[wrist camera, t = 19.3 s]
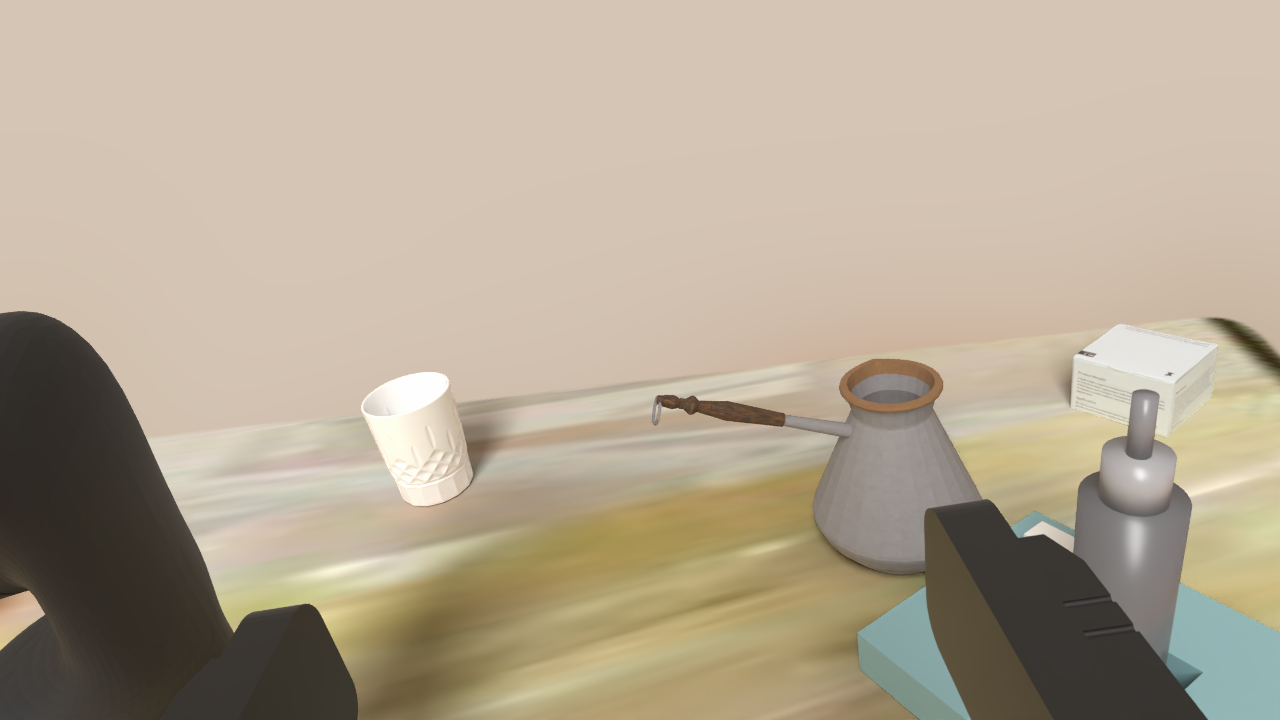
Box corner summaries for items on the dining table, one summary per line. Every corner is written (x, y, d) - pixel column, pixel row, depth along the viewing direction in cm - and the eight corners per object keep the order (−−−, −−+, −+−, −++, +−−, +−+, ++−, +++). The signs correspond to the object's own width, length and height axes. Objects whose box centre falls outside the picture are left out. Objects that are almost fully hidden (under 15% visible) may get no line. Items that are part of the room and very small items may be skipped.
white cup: (393, 479, 76) (358, 390, 72) (471, 451, 78) (442, 363, 74) (401, 522, 70) (363, 427, 65) (487, 490, 72) (456, 396, 67)
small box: (1213, 399, 64) (1223, 343, 62) (1166, 441, 61) (1174, 383, 58) (1114, 372, 70) (1119, 320, 68) (1066, 409, 67) (1069, 355, 65)
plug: (1043, 703, 43) (1064, 397, 34) (1093, 661, 45) (1125, 360, 36) (1124, 760, 39) (1169, 435, 31) (1175, 713, 41) (1231, 392, 33)
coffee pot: (945, 477, 61) (943, 302, 55) (1015, 578, 51) (1023, 377, 45) (676, 525, 62) (642, 358, 56) (692, 634, 52) (653, 445, 45)
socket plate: (859, 669, 47) (855, 620, 45) (1033, 546, 53) (1035, 498, 52) (1233, 983, 31) (1249, 926, 29) (1418, 753, 37) (1441, 695, 35)
